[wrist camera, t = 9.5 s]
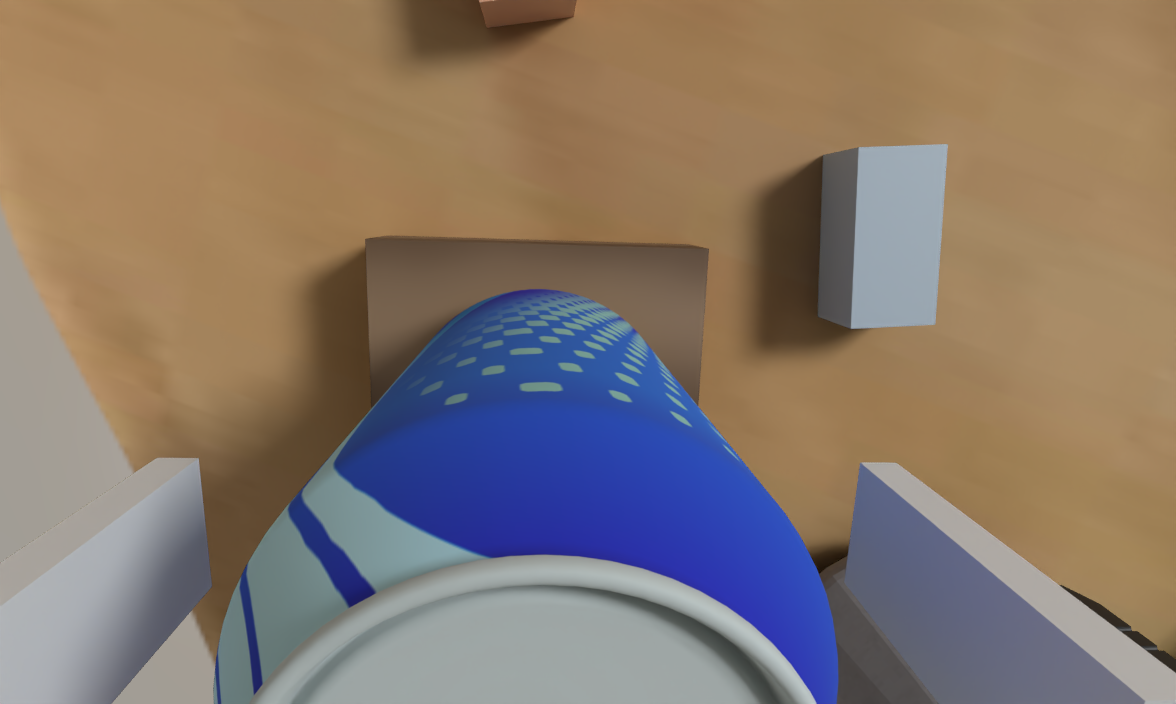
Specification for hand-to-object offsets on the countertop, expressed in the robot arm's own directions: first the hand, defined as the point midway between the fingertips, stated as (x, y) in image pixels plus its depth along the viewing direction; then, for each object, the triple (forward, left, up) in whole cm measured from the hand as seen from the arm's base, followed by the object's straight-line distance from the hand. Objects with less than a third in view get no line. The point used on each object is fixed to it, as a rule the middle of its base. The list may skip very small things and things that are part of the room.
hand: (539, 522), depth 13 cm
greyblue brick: (-6, +12, -13) cm, 18 cm away
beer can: (0, 0, -9) cm, 9 cm away
